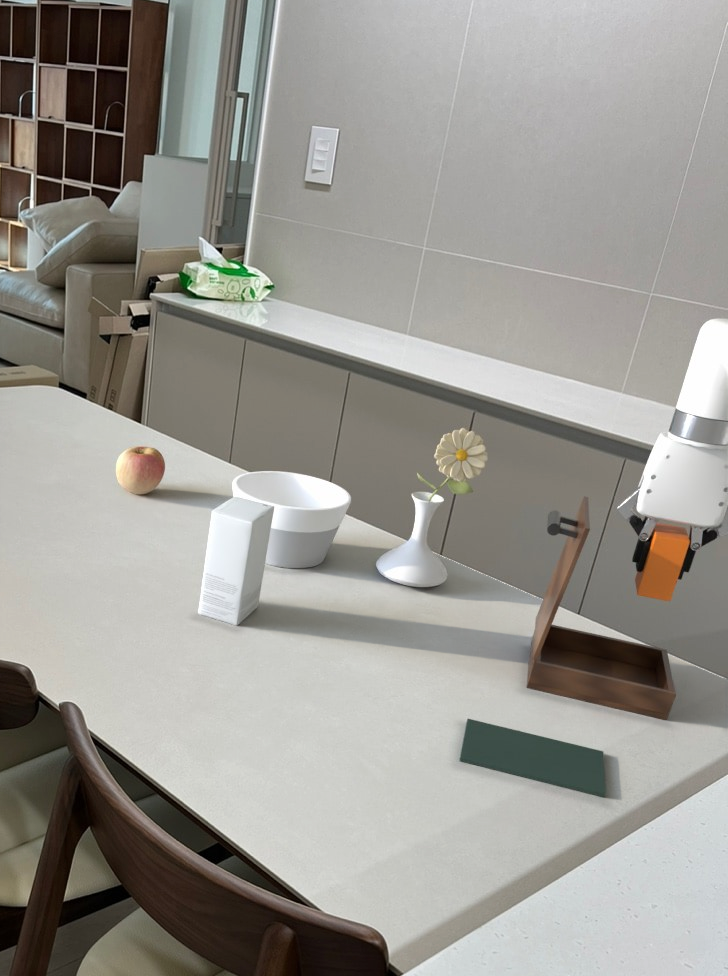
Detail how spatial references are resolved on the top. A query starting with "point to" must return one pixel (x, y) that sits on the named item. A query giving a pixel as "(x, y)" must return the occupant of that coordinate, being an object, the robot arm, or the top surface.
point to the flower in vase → (415, 558)
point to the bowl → (296, 514)
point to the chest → (603, 671)
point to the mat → (534, 757)
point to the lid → (561, 568)
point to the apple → (140, 469)
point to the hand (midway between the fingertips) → (658, 570)
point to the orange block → (663, 562)
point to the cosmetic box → (235, 559)
